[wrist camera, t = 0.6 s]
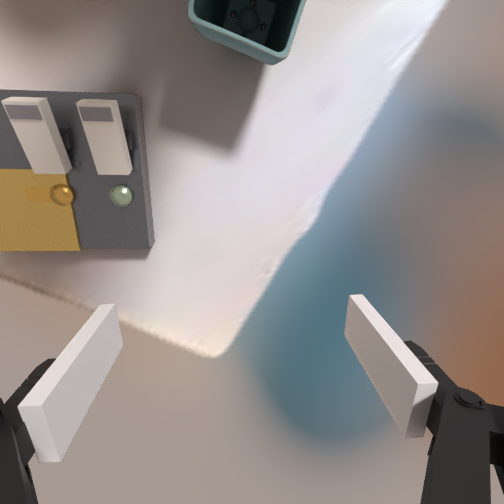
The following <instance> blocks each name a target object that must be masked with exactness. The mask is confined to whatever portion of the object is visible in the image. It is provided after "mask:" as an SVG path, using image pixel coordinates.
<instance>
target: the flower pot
mask: <svg viewBox="0 0 504 504" xmlns="http://www.w3.org/2000/svg"><path fill="white" fill-rule="evenodd" d="M251 1H252V0H190V1H189V4H188V10H187V16H188V18H189V20H190V21H191V22H192V24H193V25H194V26H195V28H196V29H197V30H198V32H199V33H200V34H201V35H202V36H204V37H205V38H207V39H209V40H211V41H214V42H216V43H219V44H221V45H224V46H226V47H229V48H231V49H233V50H236V51H238V52H241V53H243V54H245V55H248V56H250V57H252V58H255V59H257V60H259V61H261V62H264V63H266V64H269V65H275V64H277V63H279V62H281V61H282V60H284V59H285V58H286V57H287V56H288V54H289V52H290V49H291V45H292V42H293V39H294V36H295V33H296V30H297V27H298V24H299V20H300V17H301V14H302V11H303V8H304V5H305V2H306V0H254V1H255V2H256V5H255V6H252V5H251ZM232 12H236V17H232V15H231V14H232ZM261 24H263V25H264V26H265V28H264V30H261V29H260V26H261ZM242 35H244V36H245V37H246V38H245V37H242Z"/></svg>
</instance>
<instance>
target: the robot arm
mask: <svg viewBox="0 0 504 504" xmlns="http://www.w3.org/2000/svg"><path fill="white" fill-rule="evenodd" d="M344 336H345V337H346V339H347V341H348V342H349V344H350V346H351V348H352V349H353V351H354V353H355V354H356V356H357V358H358V359H359V361H360V363H361V365H362V366H363V368H364V370H365V371H366V373H367V375H368V377H369V378H370V380H371V382H372V383H373V385H374V387H375V388H376V390H377V392H378V393H379V395H380V397H381V399H382V400H383V402H384V404H385V405H386V407H387V409H388V411H389V412H390V414H391V416H392V418H393V419H394V421H395V423H396V424H397V426H398V428H399V429H400V431H401V433H402V434H403V436H404V438H417V437H424V433H425V429H426V426H427V427H428V429H429V430H430V431H431V433H432V434H433V437H432V441H431V444H430V448H429V451H428V455H429V458H428V463H427V469H426V475H425V480H424V486H423V492H422V498H421V503H420V504H491V491H490V464H493V465H494V467H495V470H496V473H497V476H498V479H499V482H500V485H501V487H502V491H503V494H504V407H502V406H497V405H492V404H487V403H486V402H485V401H484V400H483V399H482V398H481V397H479V396H478V395H477V394H475V393H474V392H472V391H470V390H468V389H464V388H461V387H458V386H457V385H456V384H455V383H454V382H453V381H452V380H451V379H450V378H449V377H448V376H447V375H446V374H445V373H444V371H443V370H442V369H441V368H440V367H439V366H438V365H437V364H435V362H434V361H433V360H432V359H431V358H430V357H429V355H428V354H427V353H426V352H425V351H424V350H423V349H422V348H421V347H420V346H418V345H416V344H415V343H413V342H412V341H402V340H401V339H400V338H399V337H398V335H397V334H396V333H395V332H394V331H393V330H392V328H391V327H390V326H389V325H388V324H387V323H386V321H385V320H384V319H383V318H382V317H381V316H380V315H379V313H378V312H377V311H376V310H375V309H374V308H373V306H372V305H371V304H370V303H369V302H368V301H367V299H366V298H365V297H364V296H363V295H349V301H348V310H347V318H346V325H345V334H344ZM122 346H123V342H122V338H121V332H120V327H119V322H118V317H117V311H116V306H115V304H101V305H100V306H99V307H98V308H97V309H96V311H95V312H94V313H93V314H92V316H91V317H90V318H89V319H88V321H87V322H86V323H85V324H84V325H83V327H82V328H81V329H80V331H79V332H78V333H77V334H76V335H75V337H74V338H73V339H72V340H71V342H70V343H69V344H68V345H67V347H66V348H65V349H64V350H63V351H62V353H61V354H60V355H59V356H58V358H56V359H47V360H46V361H45V362H43V363H42V364H40V365H39V366H37V367H36V368H35V369H34V371H33V372H32V373H31V374H30V375H29V376H28V379H26V380H25V381H24V382H23V383H22V384H21V387H19V388H18V389H17V390H16V391H15V392H14V393H13V395H12V396H11V397H10V398H9V399H8V400H7V401H6V403H5V404H4V403H3V401H2V399H1V398H0V504H38V501H37V496H36V492H35V488H34V484H33V480H32V476H31V472H30V468H29V466H28V462H29V460H30V459H31V457H32V456H33V454H34V453H35V454H36V457H37V459H38V462H39V463H49V462H61V460H62V458H63V456H64V454H65V453H66V450H67V449H68V447H69V445H70V443H71V441H72V440H73V438H74V436H75V433H76V432H77V430H78V428H79V426H80V424H81V423H82V421H83V419H84V417H85V415H86V413H87V411H88V410H89V408H90V406H91V404H92V402H93V400H94V399H95V397H96V395H97V393H98V391H99V389H100V387H101V385H102V384H103V382H104V380H105V378H106V376H107V374H108V372H109V371H110V369H111V367H112V365H113V363H114V361H115V359H116V358H117V356H118V354H119V352H120V350H121V348H122Z"/></svg>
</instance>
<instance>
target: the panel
mask: <svg viewBox="0 0 504 504" xmlns="http://www.w3.org/2000/svg"><path fill="white" fill-rule="evenodd" d="M9 97H38V98H47V100H48V103H49V106H50V108H51V111H52V114H53V117H54V119H55V122H56V125H57V127H58V130H59V133H60V136H61V138H62V141H63V144H64V147H65V149H66V152H67V155H68V157H69V160H70V163H71V166H72V169H71V170H70V171H69V172H68V173H67V174H34V172H33V169H32V167H31V165H30V163H29V161H28V159H27V156H26V154H25V152H24V150H23V148H22V146H21V143H20V141H19V139H18V137H17V135H16V132H15V130H14V128H13V126H12V124H11V122H10V119H9V117H8V115H7V113H6V111H5V109H4V106H3V104H2V102H1V100H4V99H6V98H9ZM82 99H100V100H117V103H118V107H119V111H120V116H121V120H122V124H123V129H124V133H125V137H126V142H127V146H128V151H129V155H130V159H131V164H132V168H133V169H132V171H131V172H130V174H129V175H98V172H97V169H96V166H95V163H94V160H93V156H92V153H91V150H90V147H89V144H88V141H87V137H86V134H85V131H84V128H83V125H82V121H81V118H80V115H79V112H78V109H77V105H76V103H77V102H78V101H80V100H82ZM154 242H155V240H154V230H153V219H152V209H151V198H150V188H149V178H148V167H147V157H146V146H145V136H144V126H143V115H142V105H141V98H140V97H138V96H136V95H135V94H116V93H87V92H57V91H28V90H0V251H81V248H150V247H151V246H152V245H153V243H154Z"/></svg>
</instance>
